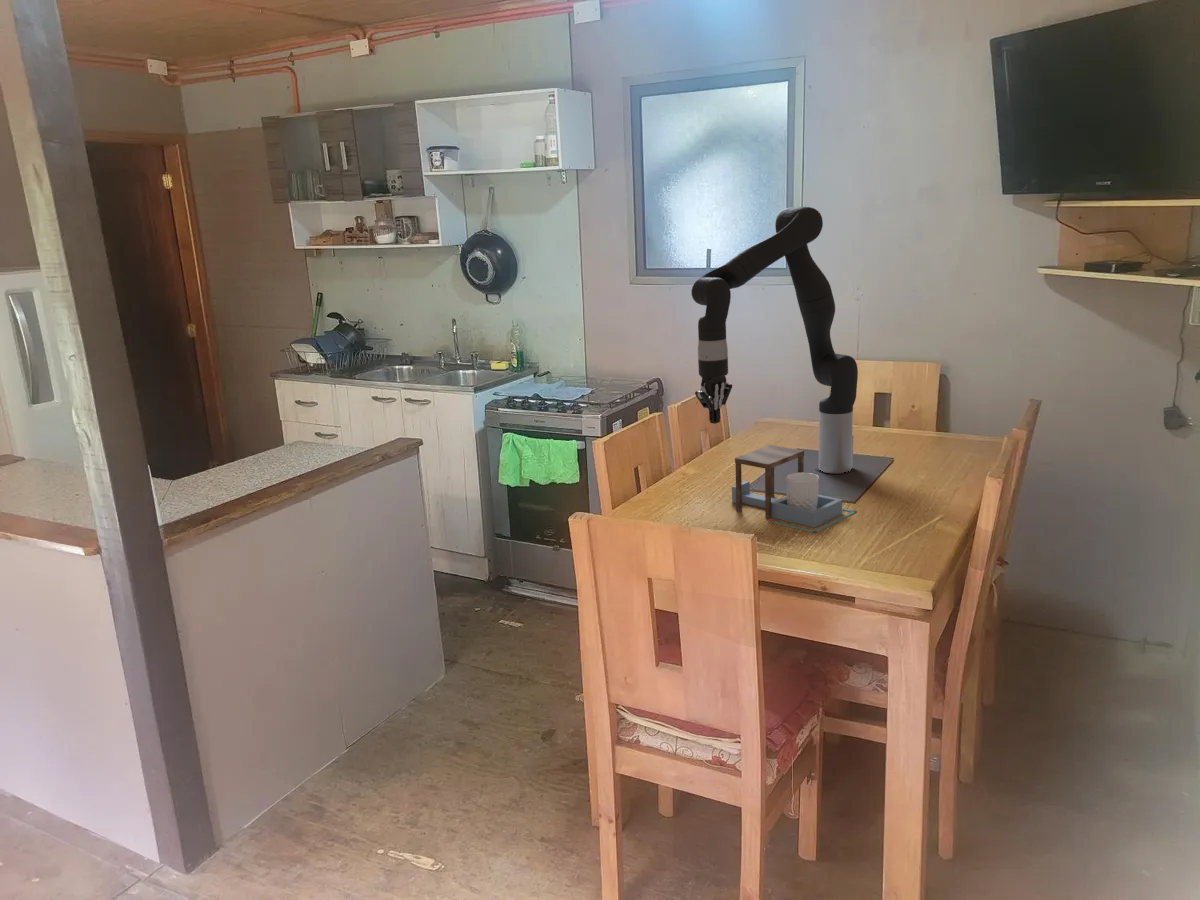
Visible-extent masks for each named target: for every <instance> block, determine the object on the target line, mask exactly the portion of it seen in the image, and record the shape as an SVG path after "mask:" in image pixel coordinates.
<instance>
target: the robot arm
mask: <svg viewBox="0 0 1200 900" xmlns="http://www.w3.org/2000/svg"><path fill="white" fill-rule="evenodd" d="M823 224H824V222H823V216H822V215H821V213H820V211H819V210H818V209H816V208H814V207H810V206H793V207H785V208H783V209H782V210H780V211H779V212H778V214H777V216H776V217H775V223H774V225H775V227H774V228H775V234H773V235H771V236H770V237H768V238H766V239H764V240H762V241H758V242H757V243H755V244H753V245H751V246H749V247H747V248H745V249H743V250H741V251H740V252H739V253H738V254H736V255H735V256H734V257H732V258H730V259H729V260H728V261H727V262H726V263H725V264H723V265H721V266H719V267H716V268H714V269H712V270H711V271H708V272H707V273H705V274H703V275H702V276H700V277H698V279H696V280H695V282H694V283H693V286H692V288H691V297H692V300H693V301H694V302H695V303H696V304H697V305H698V304H699V305H701V306H706V307H705V315H703V316H701V317H699V318H698V323H697V331H698V333H697V334H698V345H697V359H698V362H697V363H698V375H699V376H700V378H701V382H700V388H699V390H696V391H695V393H694V395H695V397H696V398H697V400H698V401H699V404H701V406H702V407H703V408H704V409H707V410H708V418H709V423H710V424H714V425H716V424H719V423H720V422H721V409H722V407H723V406H725V405H726V403H727V401H728V400H729V396H730V393H731V391H732V389H733V384H731V383H728V381H727V377H726V376H727V375H728V374H729V356H728V354H729V352H728V351H729V350H728V342H727V319H728V316H729V315H728V314H729V311H730V304H731V299H732V295H731V289H738V288H740V287H742V286H743V285H745V284H746V283H748V282H749V281H750V280H751V279H753V278H754V277H756V276H757V275H758V274H760V273H761V272H762V271H764V270H765V269H766V268H768V267H769V266H771V265H773V264H774V263H776V262H777V261H779V260H780V259H782V258H783V257H784V258H785V261H786V263H787V267H788V270H789V273H790V276H791V279H792V284H793V287H794V290H795V296H796V300H797V304H798V308H799V310H800V315H801V317H802V321H803V325H804V330H805V334H806V337H807V342H808V348H809V354H810V355H809V356H810V361H811V368H812V372H813V377H814V378H815V380H816V381H817V382H818V383H819V384H821V385H823V386H826V387H830V393H829V396H828V397H826V398H823V399H821V400H820V401H819V403H818V463H817V464H818V468H819V469H818V470H819V471H820V470H821V471H820V472H822V471H823V473H827V474H845V473H844V472H846V473H849V472H851V471H852V470H853V467H854V465H853V464H854V462H853V460H854V435H853V430H854V429H853V425H854V424H853V420H854V419H853V418H854V415H853V414H854V411H853V410H854V405H855V403H856V399H857V392H858V390H857V389H858V374H859V371H858V363H857V361H856V360H855V359H854V358H853V356H850V355H847V354H840V353H836V352H835V350H834V347H833V343H832V337H831V329H832V325H833V321H834V318H835V314H836V302H835V298H834V295H833V291H832V286H831V284H830V281H829V280H828V279H827V277H826V275H825V274H824V272H823V271H822V270H821V268H820V267H819V266H818V265H817V263H816V261H814V259H813V257H812V254H811V253H810V250H809V246H808V244H810V243H811V242H813V241H815V240H816V239H817V238H818V237H819V236H820V234H821V232H822V229H823V226H824V225H823ZM851 469H852V470H851ZM848 471H849V472H848Z"/></svg>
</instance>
